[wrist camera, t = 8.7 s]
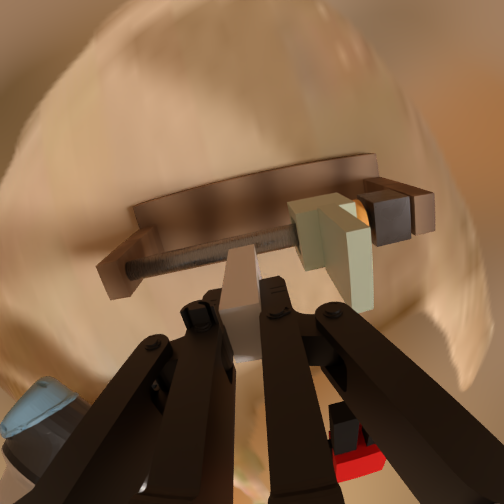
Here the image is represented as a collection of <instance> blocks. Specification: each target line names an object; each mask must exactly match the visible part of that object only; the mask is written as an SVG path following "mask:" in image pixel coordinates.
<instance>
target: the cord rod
mask: <svg viewBox="0 0 504 504" xmlns="http://www.w3.org/2000/svg"><path fill="white" fill-rule="evenodd" d="M357 200H359V201H360V202H361V203H362V204H363V206H364V208H365V210H366V213H367V217H368V221H369V227H370V229H371V242H372V243H373V244H374V245H375V246H377V247H379V246H383V245H387V244H391V243H395V242H400V241H404V240H408V239H411V214H410V199H409V196H407V195H404V194H401V193H398V192H396V191H393V190H390V189H388V190H382V191H376V192H371V193H365V194H359V195H357ZM252 244H254V246H255V251H256V255H257V254H262V253H266V252H271V251H276V250H280V249H285V248H290V247H294V246H299V245H300V244H299V239H298V233H297V227H296V223H294V224H289V225H284V226H279V227H275V228H270V229H265V230H261V231H256V232H252V233H247V234H243V235H238V236H234V237H229V238H225V239H220V240H216V241H211V242H207V243H203V244H198V245H194V246H189V247H185V248H181V249H177V250H172V251H168V252H164V253H160V254H155V255H151V256H147V257H143V258H139V259H135V260H130V261H127V262H126V264H125V272H126V275H127V277H128V279H129V280H130V281H134V280H139V279H144V278H149V277H153V276H158V275H163V274H168V273H172V272H177V271H182V270H187V269H191V268H196V267H201V266H206V265H210V264H215V263H220V262H224V261H227V256H228V251H229V249H233V248H238V247H242V246H247V245H252Z"/></svg>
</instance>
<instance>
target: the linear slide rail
mask: <svg viewBox="0 0 504 504" xmlns="http://www.w3.org/2000/svg"><path fill="white" fill-rule="evenodd" d="M388 189H390V190H393V191H396V192H398V193H401V194H404V195H407V196H409V199H410V214H411V233H412V234H414V235H415V236H416V235H421V234H425V233H429V232H433V231H435V196H434V193H433V192H430V191H427V190H423V189H420V188H417V187H414V186H410V185H407V184H403V183H400V182H396V181H393V180H389V179H386V178H382V177H379V171H378V164H377V157H376V154H374V153H368V154H361V155H353V156H346V157H340V158H333V159H327V160H321V161H315V162H309V163H304V164H298V165H293V166H288V167H282V168H277V169H272V170H268V171H263V172H258V173H254V174H249V175H245V176H240V177H236V178H232V179H227V180H223V181H219V182H215V183H211V184H207V185H203V186H200V187H196V188H192V189H188V190H185V191H181V192H177V193H174V194H170V195H167V196H163V197H160V198H157V199H153V200H150V201H147V202H143V203H140V204H137V205H136V206H134V207H133V209H134V212H135V215H136V219H137V222H138V225H139V228H140V229H139V230H138V231H137V232H136V233H134V234H133V235H132V236H131V237H129V238H128V239H127V240H126V241H125V242H123V243H122V244H121V245H120V246H119V247H117V248H116V249H115V250H114V251H113V252H111V253H110V254H109V255H108V256H107V257H106V258H104V259H103V260H102V261H101V262H100V263H99V264H98V265H96V268H97V271H98V273H99V276H100V278H101V280H102V283H103V285H104V287H105V290H106V292H107V294H108V296H109V298H110V300H115V299H120V298H126V297H131V295H132V294H133V292H134V291H135V290H136V288H137V287H138V286H139V284H140V283H141V281H142V280H143V279H139V280H134V281H130V280H129V279H128V277H127V275H126V272H125V264H126V262H127V261H130V260H135V259H139V258H143V257H147V256H151V255H155V254H160V253H164V252H168V251H172V250H177V249H181V248H185V247H189V246H194V245H198V244H203V243H207V242H211V241H216V240H220V239H225V238H229V237H234V236H238V235H243V234H247V233H252V232H256V231H261V230H265V229H270V228H275V227H279V226H284V225H289V224H291V221H290V215H289V210H288V205H287V202H290V201H295V200H300V199H305V198H310V197H315V196H320V195H326V194H331V193H336V192H337V193H339V194H341V195H343V196H345V197H346V198H348V199H350V200H357V195H359V194H365V193H371V192H376V191H382V190H388Z"/></svg>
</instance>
